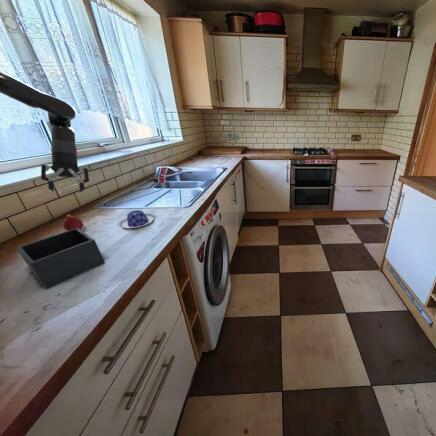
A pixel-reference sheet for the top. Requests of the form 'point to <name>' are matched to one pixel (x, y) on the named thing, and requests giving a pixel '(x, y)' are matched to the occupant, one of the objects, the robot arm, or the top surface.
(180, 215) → the top surface
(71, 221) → the onion
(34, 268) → the trash bin
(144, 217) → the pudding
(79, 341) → the top surface
